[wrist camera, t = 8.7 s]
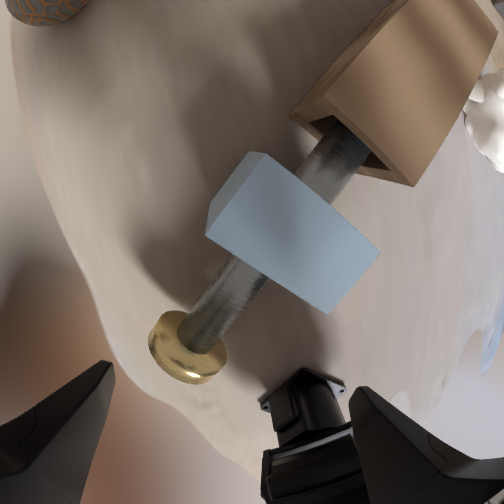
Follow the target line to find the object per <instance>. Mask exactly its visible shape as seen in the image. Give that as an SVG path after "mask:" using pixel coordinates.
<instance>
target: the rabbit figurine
mask: <svg viewBox="0 0 504 504" xmlns="http://www.w3.org/2000/svg"><path fill="white" fill-rule="evenodd" d="M462 110H463V111H464V113H465V114H466V117H465V126H466V129H467V130H468V132H469V134H470V136H471V138H472V139H473V141H474V143H475V146H476V147H477V149H478V150H479V151H480V152H481V153H482V154H484V155H485V156H487V157H488V159H489V161H490V163H491V164H492V166H493V167H494V168H495V169H496V170H498V171H499V172H502V173H504V68H503V69H499V70H498V72H496V73H487V74H485V75H484V76H483V77H482V78H481V80H479V79H478V80H477V82H476V84H475V86H474V88H473V90H472V92H471V94H470V96H469V98H468V99H467V101H466V103H465V105H464V107H463V109H462Z"/></svg>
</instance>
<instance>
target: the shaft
mask: <svg viewBox="0 0 504 504" xmlns="http://www.w3.org/2000/svg"><path fill="white" fill-rule="evenodd" d="M370 153H371V150H370V149H369V148H368V147H367V146H366V145H365V144H364V143H363V142H362V141H361V140H360V139H359V138H358V137H357V136H356V135H355V134H354V133H353V132H352V131H351V130H350V129H349V128H347V127H346V126H345V125H344V124H343V123H342V122H341V121H340V120H339V119H338V118H337V120H336V121H335V122H334V123H333V125H332V126H331V127H330V128H329V130H328V131H327V132H326V133H325V135H324V136H323V137H322V138H321V140H320V141H319V142H318V144H317V145H316V146H315V147H314V149H313V150H312V151H311V152H310V154H309V155H308V156H307V158H306V159H305V160H304V161H303V163H302V164H301V165H300V167H299V168H298V169H297V170H296V172H295V173H294V174H293V175H294V176H296V177H297V178H298V179H299V180H301V181H302V182H303V183H304V184H305V185H307V186H308V187H309V188H310V189H311V190H313V191H314V192H315V193H316V194H317V195H319V196H320V197H321V198H322V199H323V200H324V201H326V202H327V203H328V204H329V205H331V204H332V203H333V201H334V200H335V199H336V197H337V196H338V195H339V194H340V192H341V191H342V190H343V188H344V187H345V186H346V184H347V183H348V182H349V180H350V179H351V178H352V177H353V175H354V174H355V173H356V171H357V170H358V169H359V167H360V166H361V165H362V163H363V162H364V161H365V159H366V158H367V157H368V155H369V154H370ZM270 280H271V279H270V278H269V277H267V276H266V275H264V274H263V273H261V272H260V271H258V270H257V269H255V268H254V267H252V266H250V265H249V264H247V263H246V262H244V261H243V260H241V259H240V258H238V257H237V256H235V255H234V254H232V255H231V256H230V258H229V259H228V260H227V262H226V263H225V264H224V266H223V267H222V268H221V270H220V271H219V272H218V274H217V275H216V276H215V278H214V279H213V280H212V282H211V283H210V284H209V286H208V287H207V288H206V290H205V291H204V292H203V294H202V295H201V296H200V298H199V299H198V301H197V302H196V303H195V305H194V306H193V307H192V309H191V310H190V311H189V313H186V312H182V311H175V310H174V311H167V312H165V313H164V314H162V316H161V317H160V318H159V320H158V321H157V323H156V324H155V326H154V327H153V329H152V330H151V332H150V334H149V337H148V346H149V350H150V352H151V354H152V356H153V358H154V360H155V361H156V362H157V364H158V365H159V366H160V367H161V368H162V369H163V370H164V371H165V372H166V373H168V374H169V375H170V376H172V377H174V378H175V379H177V380H179V381H182V382H185V383H188V384H195V385H198V384H204V383H206V382H208V381H209V380H210V379H211V378H212V377H213V376H214V375H215V374H216V373H217V372H218V371H219V370H220V369H221V368H222V367H223V366H224V365H225V363H226V360H227V353H226V349H225V346H224V344H223V342H222V341H221V338H222V337H223V336H224V334H225V333H226V332H227V331H228V330H229V329H230V327H231V326H232V325H233V324H234V323H235V322H236V320H237V319H238V318H239V317H240V316H241V315H242V313H243V312H244V311H245V310H246V309H247V307H248V306H249V305H250V304H251V303H252V302H253V300H254V299H255V298H256V297H257V296H258V294H259V293H260V292H261V291H262V290H263V288H264V287H265V286H266V285H267V284H268V282H269V281H270Z"/></svg>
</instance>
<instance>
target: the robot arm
mask: <svg viewBox="0 0 504 504" xmlns="http://www.w3.org/2000/svg"><path fill="white" fill-rule="evenodd" d="M303 373H304V374H303ZM114 385H115V373H114V366H113V363H112V362H109V361H106V360H100V361H99V362H97V363H96V364H94V365H93V366H92V367H90V368H89V369H87V370H86V371H84V372H83V373H81V374H80V375H78V376H77V377H76V378H74V379H73V380H71V381H70V382H68V383H67V384H65V385H64V386H62V387H61V388H60V389H58V390H57V391H55V392H54V393H53V394H51V395H49V396H48V397H47V398H45V399H44V400H42V401H41V402H39V403H38V404H36V405H35V406H33V407H32V408H30V409H29V410H28V411H26V412H24V413H23V414H21V415H20V416H18V417H17V418H14V419H13V420H11V421H9V422H7V423H6V424H3V425H1V426H0V504H80V501H81V498H82V494H83V490H84V487H85V483H86V480H87V476H88V473H89V470H90V467H91V463H92V460H93V457H94V454H95V451H96V448H97V445H98V442H99V439H100V436H101V433H102V431H103V428H104V425H105V422H106V419H107V415H108V410H109V406H110V401H111V397H112V393H113V389H114ZM346 390H347V389H346V387H345V386H344V385H342V384H340V383H338V382H335V381H333V380H331V379H328V378H326V377H324V376H322V375H320V374H317V373H315V372H313V371H311V370H309V369H307V368H302V369H300V370H299V371H297V372H296V373H295V374H294V375H293V376H292V377H291V378H290V379H289V380H288V381H286V382H285V383H284V384H283V385H282V386H281V387H280V388H279V389H277V390H276V391H275V392H274V393H273V394H272V395H270V396H269V397H268V398H267V399H266V400H265V401H263V402H262V403H261V404H260V407H261V410H263V411H266V412H269V413H271V417H272V423H273V428H274V431H275V432H277V437H278V443H279V447H278V448H275V449H271V450H270V449H268V450H264V451H263V458H262V473H261V497H262V498H263V499H264V500H265V501H266V503H267V504H504V457H502V458H494V459H483V460H480V459H474V458H471V457H469V456H467V455H465V454H463V453H462V452H460V451H458V450H456V449H454V448H453V447H451V446H449V445H448V444H446V443H444V442H443V441H441V440H440V439H438V438H437V437H435V436H434V435H432V434H431V433H430V432H428V431H426V430H425V429H424V428H423V427H421V426H420V425H419V424H417V423H416V422H415V421H413V420H412V419H410V418H409V417H408V416H406V415H405V414H403V413H402V412H401V411H399V410H398V409H397V408H396V407H394V406H393V405H392V404H390V403H389V402H388V401H386V400H385V399H384V398H382V397H381V396H380V395H378V394H377V393H376V392H374V391H373V390H372V389H371V388H369V387H368V386H359V387H357V388H356V390H355V391H354V393H353V395H352V396H351V398H350V400H349V411H350V417H351V421H349V422H347V423H346V422H345V420H344V417H343V415H342V412H341V410H340V407H339V405H338V402H337V399H338V398H339V397H340V396H341V395H343V394H344V393H345V392H346Z"/></svg>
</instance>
